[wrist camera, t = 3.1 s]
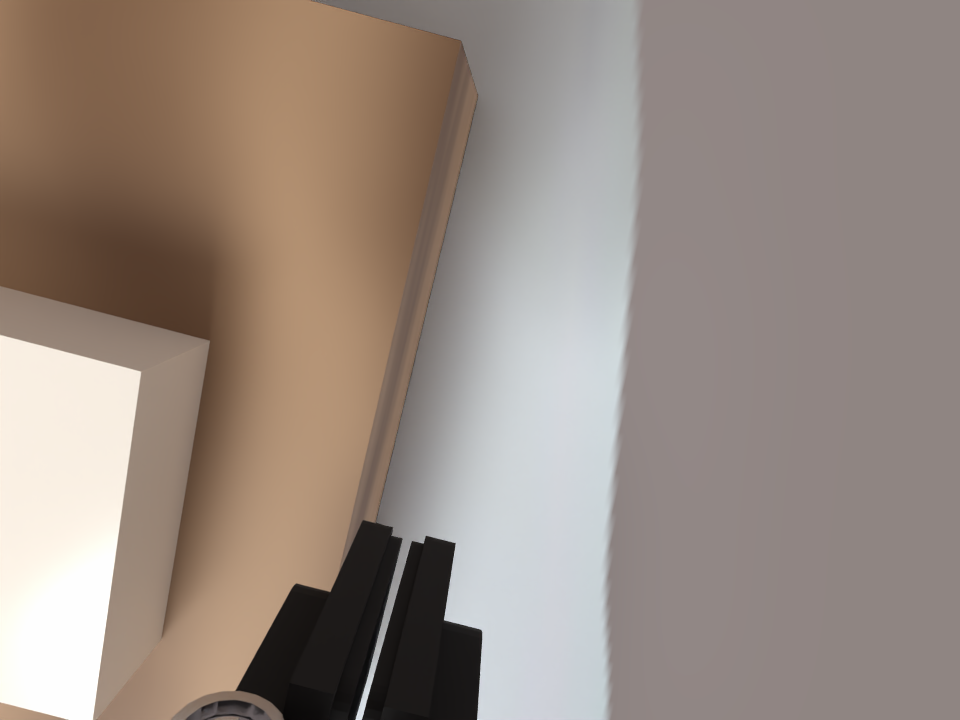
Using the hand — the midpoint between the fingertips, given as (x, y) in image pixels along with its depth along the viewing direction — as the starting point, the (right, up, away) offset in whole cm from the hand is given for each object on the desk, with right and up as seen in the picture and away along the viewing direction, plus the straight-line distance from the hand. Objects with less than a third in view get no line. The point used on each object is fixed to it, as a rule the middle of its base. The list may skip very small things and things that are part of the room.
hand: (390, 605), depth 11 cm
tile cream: (-8, +2, +2) cm, 9 cm away
